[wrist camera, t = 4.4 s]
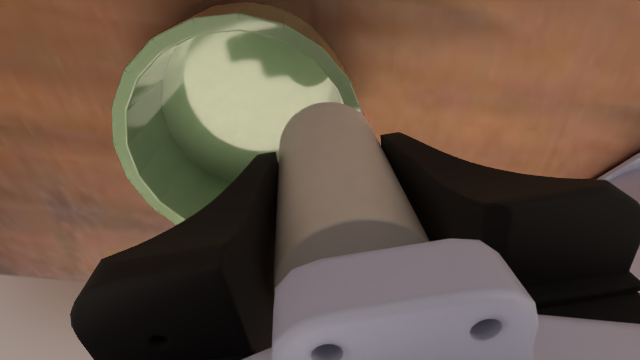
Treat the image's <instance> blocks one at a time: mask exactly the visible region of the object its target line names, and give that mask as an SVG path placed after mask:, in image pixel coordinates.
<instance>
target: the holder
mask: <svg viewBox="0 0 640 360" xmlns="http://www.w3.org/2000/svg"><path fill="white" fill-rule="evenodd" d="M322 102H336V103H341V104H345V105H348V106H350V107H352V108H354V109H356V110H357V111H358V112H360V113H361V114H362V115H363V112H362V110H361V107H360V104H359V102H358V99H357V97H356V94H355V91H354V89H353V86H352V84H351V81H350V79H349V77H348V76H347V74H346V72H345V70H344V68H343V66H342V64H341V62H340V61H339V59H338V57H337V55H336V54H335V52H334V51H333V50H332V49H331V48H330V46H329V45H328V44H327V42H326V41H325V40H324V39H323V38H322V36H321V35H320V34H319V33H318V32H317V31H316V30H315V29H314V28H313V27H311V26H310V25H308V24H307V23H306V22H305V21H303V20H301V19H300V18H298V17H297V16H295V15H293V14H291V13H289V12H287V11H284V10H282V9H280V8H277V7H273V6H270V5H266V4H260V3H253V2H235V3H228V4H222V5H215V6H212V7H210V8H208V9H206V10H204V11H202V12H200V13H198V14H196V15H194V16H192V17H190V18H188V19H186V20H184V21H182V22H180V23H178V24H176V25H175V26H173V27H171V28H169V29H167V30H165V31H163V32H161V33H159V34H158V35H156V36H154V37H153V38H151V39H150V40H149V41H148V42H147V43H146V45H145V46H144V47H143V48H142V49H141V50H140V51H139V52H138V54H137V55H136V56H135V57H134V58H133V59H132V60H131V62H130V63H129V64H128V65H127V66H126V67H125V70H124V71H123V74H122V76H121V79H120V82H119V85H118V88H117V91H116V94H115V97H114V100H113V103H112V107H111V112H112V132H113V144H114V148H115V150H116V153H117V155H118V157H119V160H120V162H121V165H122V167H123V170H124V172H125V174H126V177H127V178H128V180H129V181H130V182H131V184H132V185H133V186H134V187H135V188H136V190H137V191H138V192H139V193H140V195H141V196H142V197H143V198H144V199H145V201H146V202H147V203H148V204H149V205H150V206H151V207H152V208H153V209H154V210H156V211H157V212H159V213H160V214H162V215H163V216H164V217H166V218H167V219H169V220H170V221H171V222H173V223H174V224H176V225H178V224H179V223H181V222H183V221H184V220H186V219H187V218H189V217H191V216H192V215H194V214H195V213H197V212H198V211H200V210H201V209H202V208H204V207H205V206H206V205H208V204H209V203H210V202H211V201H213V200H214V199H215V198H216V197H217V196H218V195H220V194H221V193H222V192H223V191H224V190H225V189H226V188H227V187H228V186H229V185H230V184H231V183H232V182H233V181H234V180H235V179H236V178H237V177H238V176H239V175H240V173H241V172H242V171H243V170H244V169H245V168H246V167H247V166H248V165H249V163H250V162H251V161H252V160H253V159H254V158H255V157H256V156H257V155H258V154H264V153H270V152H276V156H277V160H278V165H279V146H280V139H281V135H282V132H283V130H284V128H285V126H286V124H287V123H288V122H289V120H290V119H291V118H292V117H293V116H294V115H295V114H296V113H298V112H299V111H300V110H302V109H304V108H306V107H308V106H310V105H313V104H317V103H322Z"/></svg>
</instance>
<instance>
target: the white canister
mask: <svg viewBox="0 0 640 360" xmlns="http://www.w3.org/2000/svg"><path fill="white" fill-rule="evenodd" d="M424 242H430V241H429V239H428V237H427V235H426V233H425V231H424V229H423V227H422V225H421V223H420V221H419V219H418V217H417V215H416V214H415V212H414V210H413V208H412V206H411V204H410V202H409V200H408V198H407V196H406V194H405V192H404V190H403V188H402V186H401V184H400V182H399V181H398V179H397V177H396V175H395V173H394V171H393V169H392V167H391V165H390V163H389V161H388V159H387V157H386V155H385V153H384V151H383V149H382V147H381V146H380V144H379V142H378V140H377V138H376V136H375V134H374V132H373V130H372V128H371V126H370V124H369V122H368V121H367V120H366V118H365V117H364V116H363V115H362V114H361V113H360V112H358V111H357V110H356V109H354V108H352V107H350V106H348V105H345V104H341V103H336V102H322V103H317V104H313V105H310V106H308V107H306V108H304V109H302V110H300V111H299V112H298V113H296V114H295V115H294V116H293V117H292V118H291V119H290V120H289V122H288V123H287V124H286V126H285V128H284V130H283V132H282V135H281V139H280V146H279V170H278V190H277V213H276V236H275V258H274V281H273V285H274V294H275V288H276V286H277V285H278V284H279V283H280V282H281V281H282V280H283V279H284V278H285V277H286V276H287V275H288V273H289V272H290V271H291V270H292V269H294V268H297V267H300V266H303V265H305V264H308V263H311V262H313V261H316V260H319V259H322V258H329V257H335V256H341V255H348V254H354V253H361V252H367V251H373V250H380V249H386V248H393V247H399V246H405V245H412V244H418V243H424Z"/></svg>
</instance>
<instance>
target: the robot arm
mask: <svg viewBox="0 0 640 360" xmlns="http://www.w3.org/2000/svg"><path fill="white" fill-rule="evenodd" d="M381 147H382V149H383V151H384V153H385V155H386V157H387V159H388V161H389V163H390V165H391V167H392V169H393V171H394V173H395V175H396V177H397V179H398V181H399V182H400V184H401V186H402V188H403V190H404V192H405V194H406V196H407V198H408V200H409V202H410V204H411V206H412V208H413V210H414V212H415V214H416V215H417V217H418V219H419V221H420V223H421V225H422V227H423V229H424V231H425V233H426V235H427V237H428V239H429V241H430V242H424V243H418V244H412V245H405V246H399V247H393V248H386V249H380V250H373V251H367V252H361V253H354V254H348V255H341V256H335V257H329V258H322V259H319V260H316V261H313V262H311V263H308V264H305V265H303V266H300V267H297V268H294V269H292V270H291V271H290V272H289V273H288V275H287V276H286V277H285V278H284V279H283V280H282V281H281V282H280V283H279V284H278V285H277V286H276V288H275V294H274V285H273V281H274V258H275V236H276V213H277V190H278V170H279V165H278V160H277V156H276V152H270V153H264V154H258V155H257V156H256V157H255V158H254V159H253V160H252V161H251V162H250V163H249V165H248V166H247V167H246V168H245V169H244V170H243V171H242V172H241V173H240V175H239V176H238V177H237V178H236V179H235V180H234V181H233V182H232V183H231V184H230V185H229V186H228V187H227V188H226V189H225V190H224V191H223V192H222V193H221V194H220V195H218V196H217V197H216V198H215V199H214V200H213V201H211V202H210V203H209V204H208V205H206V206H205V207H204V208H202V209H201V210H200V211H198V212H197V213H195V214H194V215H192V216H191V217H189V218H187V219H186V220H184V221H183V222H181V223H179V224H178V225H176V226H175V227H173V228H171V229H169V230H167V231H165V232H164V233H162V234H160V235H158V236H156V237H154V238H152V239H150V240H147V241H145V242H143V243H141V244H139V245H136V246H134V247H131V248H129V249H126V250H124V251H121V252H119V253H116V254H114V255H111V256H109V257H106V258H103V259H101V261H100V262H99V264H98V266H97V267H96V269H95V270H94V272H93V273H92V275H91V277H90V278H89V280H88V281H87V283H86V285H85V286H84V288H83V289H82V291H81V293H80V294H79V296H78V297H77V299H76V300H75V302H74V305H73V307H72V310H71V313H70V316H71V326H72V328H73V330H74V332H75V333H76V335H77V337H78V339H79V340H80V341H81V343H82V344H83V345H84V347H85V348H86V350H87V351H88V352H89V353H90V355H91V356H92V357H93V359H94V360H640V152H639V153H638V154H636V155H635V156H633V157H631V158H630V159H628V160H627V161H625V162H623V163H622V164H620V165H618V166H617V167H615V168H614V169H612V170H610V171H609V172H607V173H605V174H604V175H602V176H601V177H599V178H597V179H570V178H554V177H544V176H534V175H527V174H520V173H515V172H509V171H504V170H499V169H494V168H490V167H486V166H482V165H479V164H475V163H472V162H468V161H465V160H462V159H459V158H457V157H454V156H451V155H449V154H446V153H444V152H441V151H439V150H437V149H435V148H432V147H430V146H428V145H426V144H424V143H422V142H420V141H418V140H416V139H413V138H411V137H409V136H407V135H405V134H402V133H400V132H397V133H391V134H384V135H381Z"/></svg>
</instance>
